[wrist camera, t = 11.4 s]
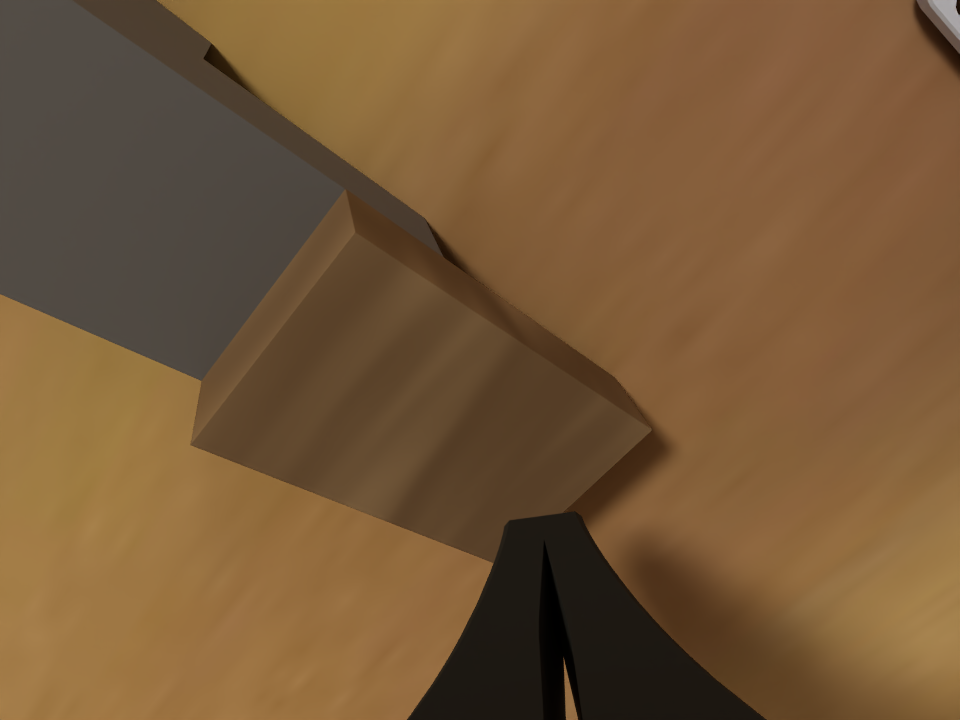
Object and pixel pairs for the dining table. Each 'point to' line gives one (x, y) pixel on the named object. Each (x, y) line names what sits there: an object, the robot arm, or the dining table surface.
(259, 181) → the grey rectangular block
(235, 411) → the tile
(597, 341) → the dining table surface
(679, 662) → the robot arm
